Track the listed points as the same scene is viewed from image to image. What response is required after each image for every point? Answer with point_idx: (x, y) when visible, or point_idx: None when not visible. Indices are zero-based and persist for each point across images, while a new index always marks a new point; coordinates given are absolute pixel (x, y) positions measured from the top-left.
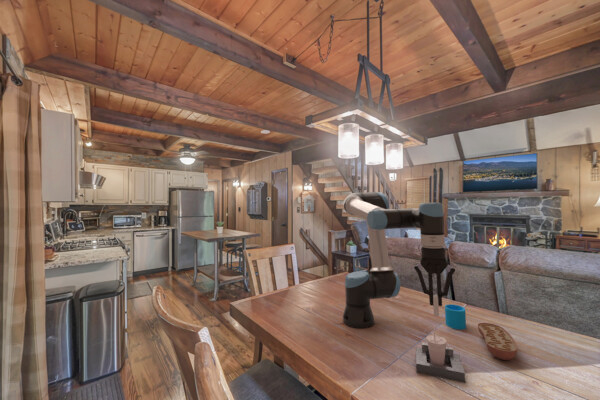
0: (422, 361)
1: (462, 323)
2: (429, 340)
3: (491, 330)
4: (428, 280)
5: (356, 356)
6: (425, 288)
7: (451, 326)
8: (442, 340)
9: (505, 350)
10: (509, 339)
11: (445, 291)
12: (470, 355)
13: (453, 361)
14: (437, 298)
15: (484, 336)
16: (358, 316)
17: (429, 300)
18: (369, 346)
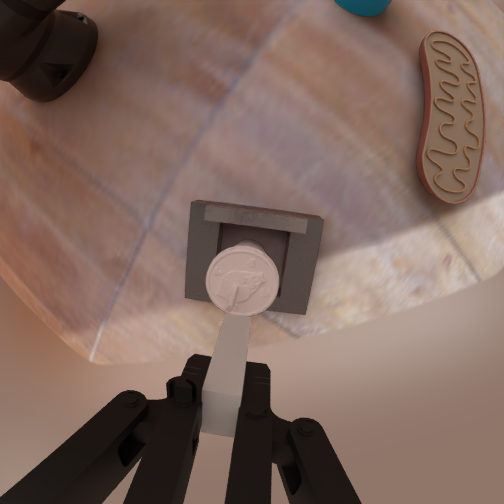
0: (202, 285)
1: (380, 7)
2: (215, 295)
3: (452, 74)
4: (129, 488)
5: (62, 249)
6: (130, 461)
7: (344, 5)
8: (264, 284)
9: (451, 194)
10: (477, 127)
11: (291, 480)
12: (362, 164)
13: (293, 264)
14: (231, 431)
15: (428, 107)
16: (34, 86)
17: (184, 369)
18: (78, 190)
